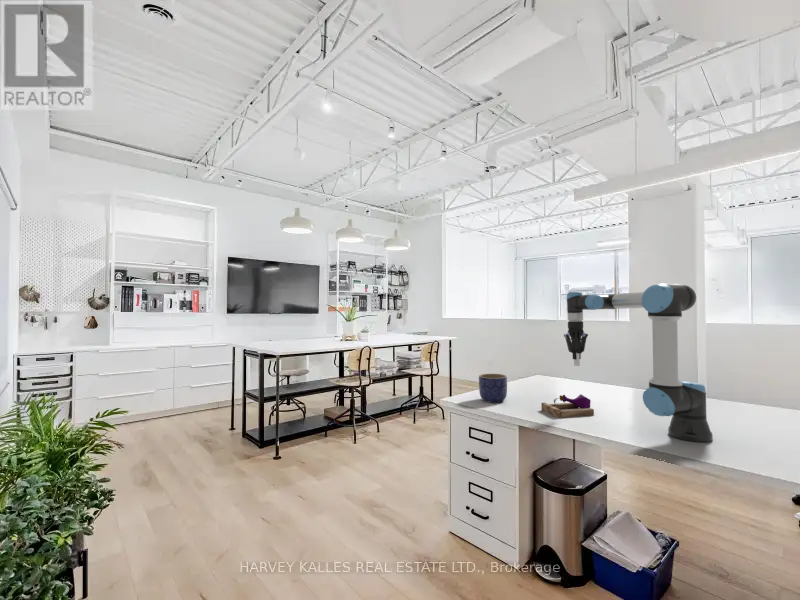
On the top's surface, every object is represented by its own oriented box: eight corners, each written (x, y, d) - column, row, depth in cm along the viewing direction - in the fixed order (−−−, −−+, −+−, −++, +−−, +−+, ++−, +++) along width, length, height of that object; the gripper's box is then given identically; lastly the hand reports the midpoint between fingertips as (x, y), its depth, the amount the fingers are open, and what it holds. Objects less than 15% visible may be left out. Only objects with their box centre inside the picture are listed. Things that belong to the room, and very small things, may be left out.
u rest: (593, 415, 200) (593, 407, 200) (557, 417, 197) (556, 409, 197) (576, 407, 215) (575, 400, 215) (541, 410, 211) (541, 402, 211)
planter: (490, 396, 246) (490, 372, 247) (513, 400, 234) (512, 375, 234) (473, 400, 236) (473, 375, 236) (496, 405, 223) (495, 379, 223)
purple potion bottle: (586, 394, 212) (552, 392, 214) (591, 397, 205) (556, 395, 207) (586, 408, 212) (551, 406, 214) (591, 411, 205) (555, 409, 207)
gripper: (582, 320, 212) (583, 364, 212) (560, 321, 210) (561, 365, 209) (591, 320, 205) (592, 365, 204) (568, 321, 203) (569, 367, 202)
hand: (576, 365), depth 207 cm, fingers closed
